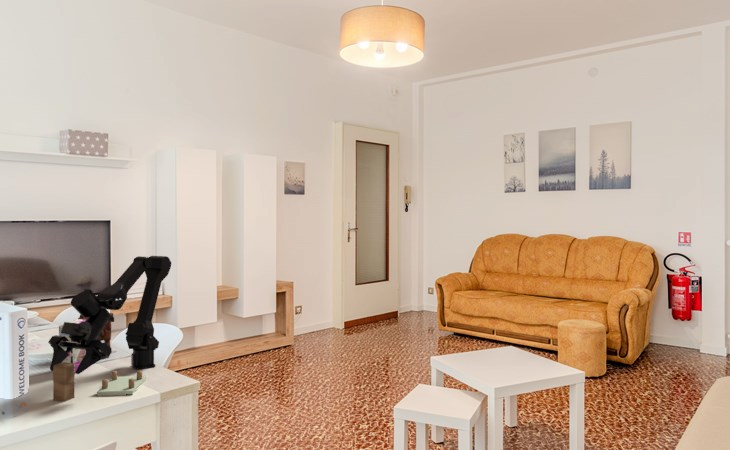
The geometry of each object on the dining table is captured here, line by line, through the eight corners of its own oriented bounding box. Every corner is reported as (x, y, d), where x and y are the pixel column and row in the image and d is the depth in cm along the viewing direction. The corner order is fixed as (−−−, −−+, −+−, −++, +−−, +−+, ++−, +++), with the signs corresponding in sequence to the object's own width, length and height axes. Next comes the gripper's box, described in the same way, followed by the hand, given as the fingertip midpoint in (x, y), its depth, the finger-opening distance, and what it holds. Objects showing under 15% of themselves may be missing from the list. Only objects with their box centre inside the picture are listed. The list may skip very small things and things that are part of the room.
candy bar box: (72, 375, 174) (72, 325, 174) (57, 375, 174) (57, 325, 174) (91, 365, 185) (91, 318, 185) (77, 365, 186) (77, 318, 185)
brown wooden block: (63, 396, 156) (63, 362, 155) (74, 397, 154) (74, 363, 154) (53, 400, 152) (53, 365, 152) (64, 401, 151) (64, 366, 151)
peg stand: (113, 380, 170) (113, 368, 170) (146, 379, 171) (146, 368, 171) (96, 395, 156) (97, 383, 156) (132, 394, 157) (132, 382, 157)
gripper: (53, 308, 160) (20, 354, 150) (104, 313, 155) (74, 360, 145) (74, 329, 168) (44, 374, 158) (123, 334, 163) (96, 380, 153)
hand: (63, 371), depth 153 cm, fingers open, 9 cm apart
